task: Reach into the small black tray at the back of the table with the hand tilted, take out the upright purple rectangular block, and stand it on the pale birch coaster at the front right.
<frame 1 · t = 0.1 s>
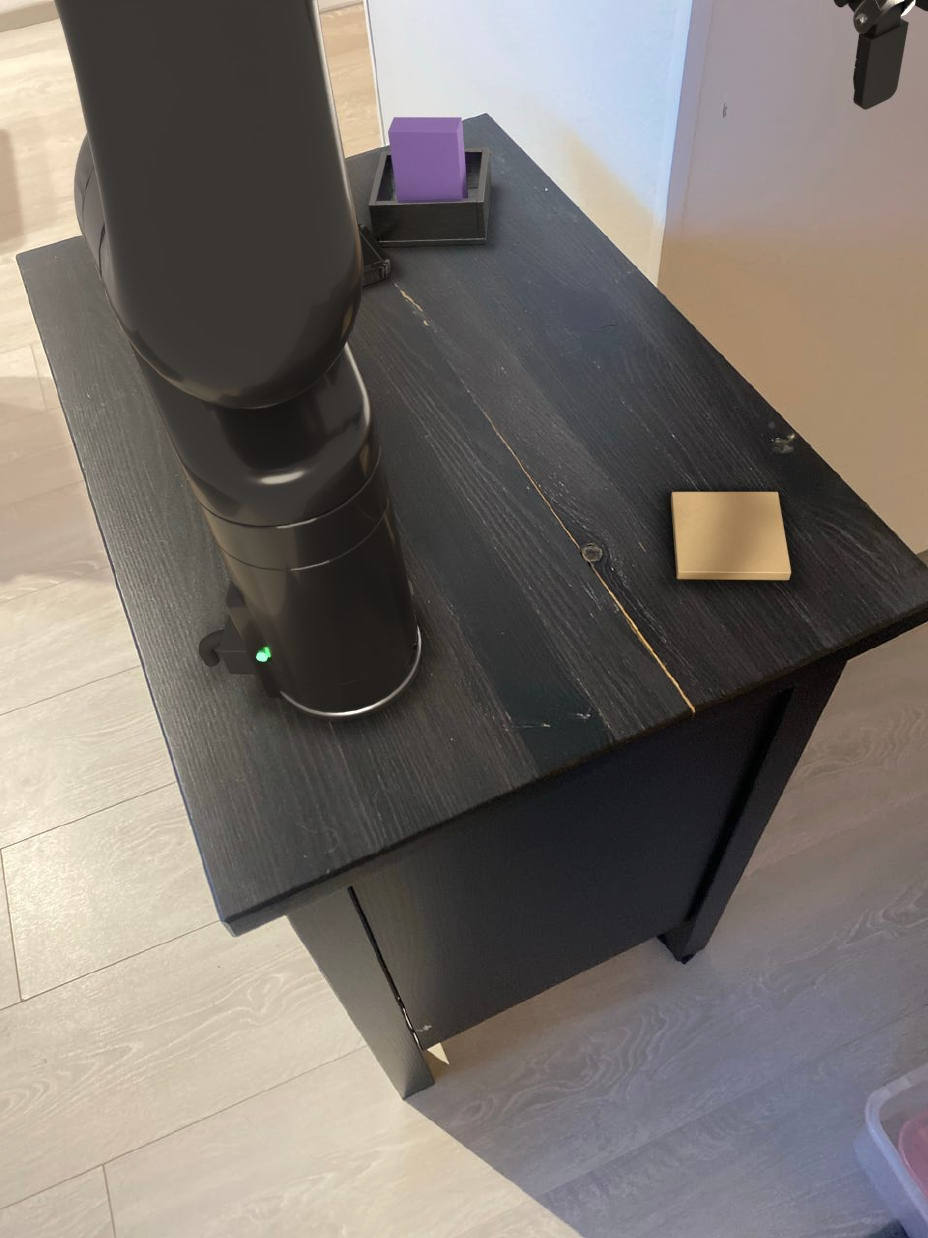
phone: (300, 279, 83), on the table
coaster: (727, 538, 62), on the table
purple rectangular block: (434, 211, 87), point 1 cm above the table, touching black tray
black tray: (434, 217, 88), on the table
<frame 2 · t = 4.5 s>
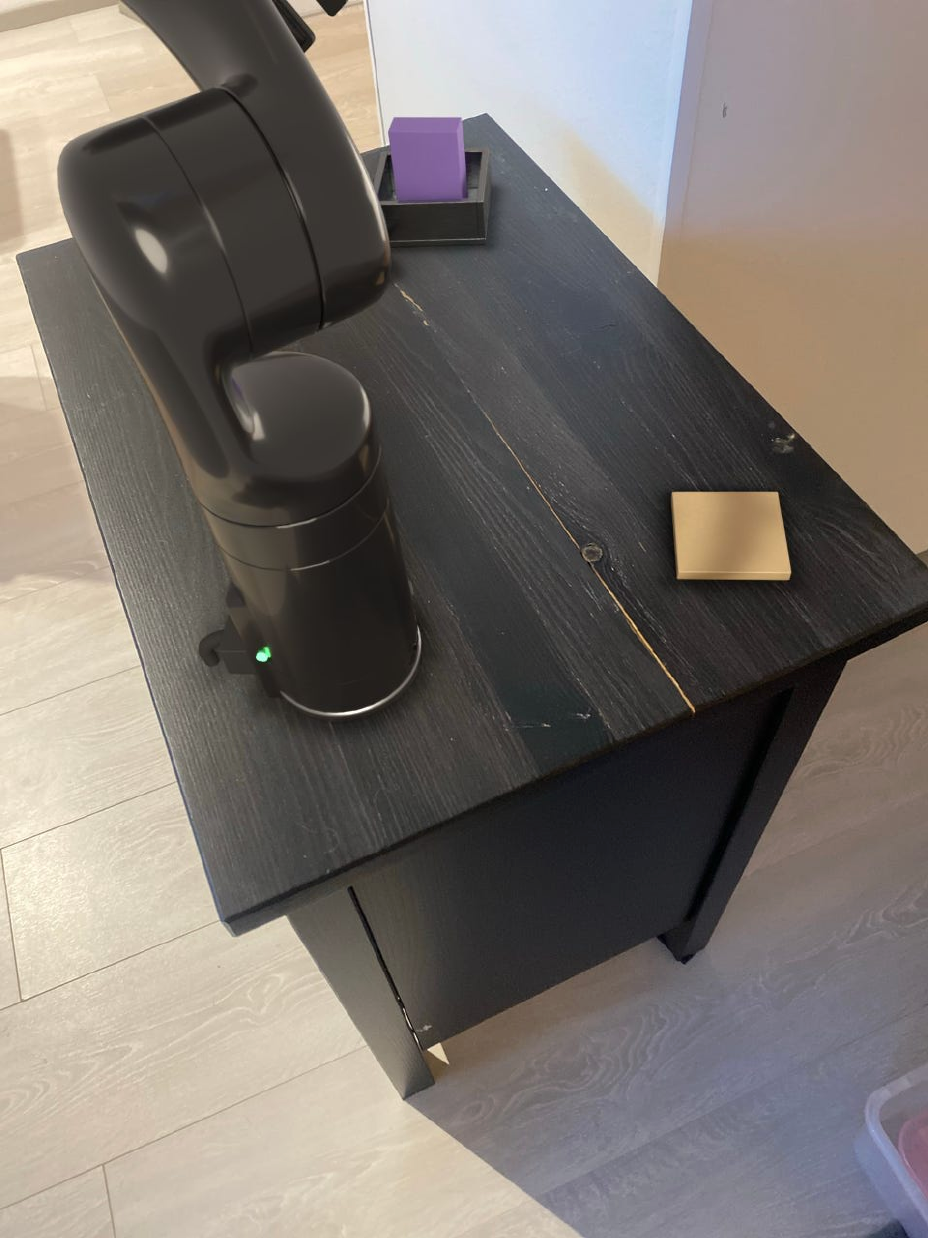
hand: (325, 28, 75), 16 cm above the table, tool tilted 40°, fingers open, 8 cm apart
nothing on the table moved.
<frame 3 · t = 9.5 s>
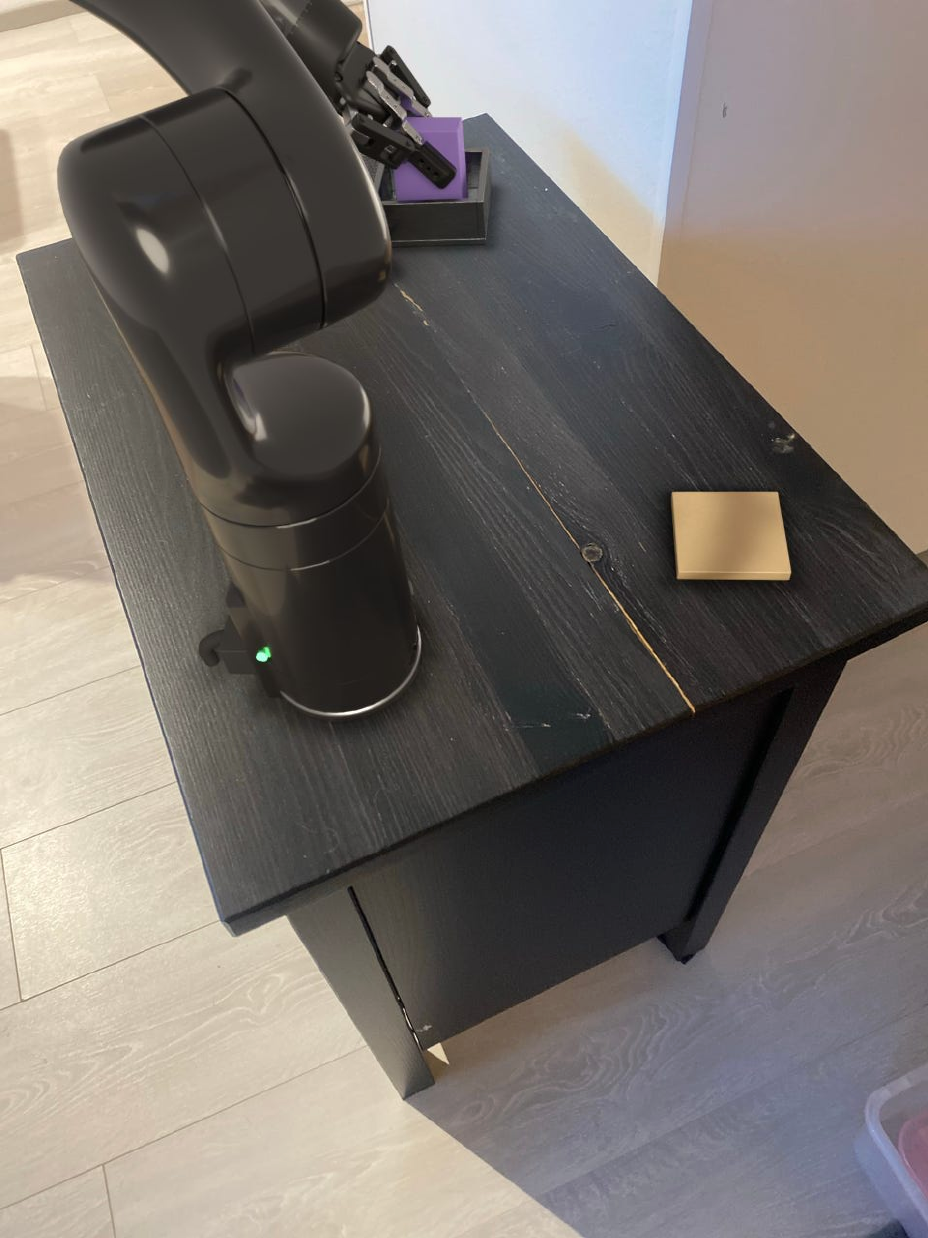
hand: (452, 170, 84), 5 cm above the table, tool tilted 45°, fingers closed on purple rectangular block, 2 cm apart
purple rectangular block: (434, 211, 87), point 1 cm above the table, touching gripper, black tray
everything else where it was.
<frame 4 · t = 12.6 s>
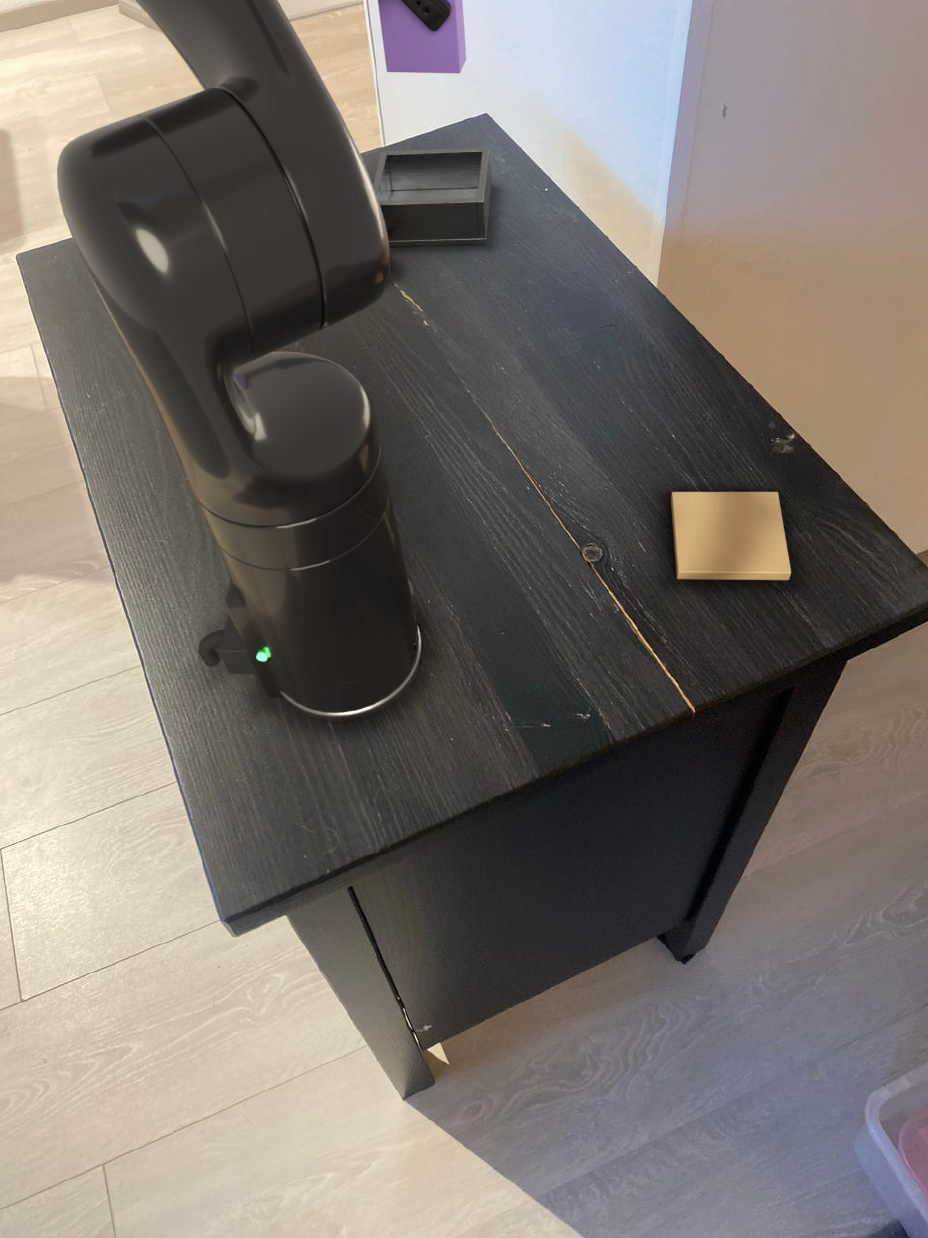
hand: (447, 11, 72), 18 cm above the table, tool tilted 45°, fingers closed on purple rectangular block, 2 cm apart
purple rectangular block: (426, 65, 76), point 14 cm above the table, touching gripper
everything else where it was.
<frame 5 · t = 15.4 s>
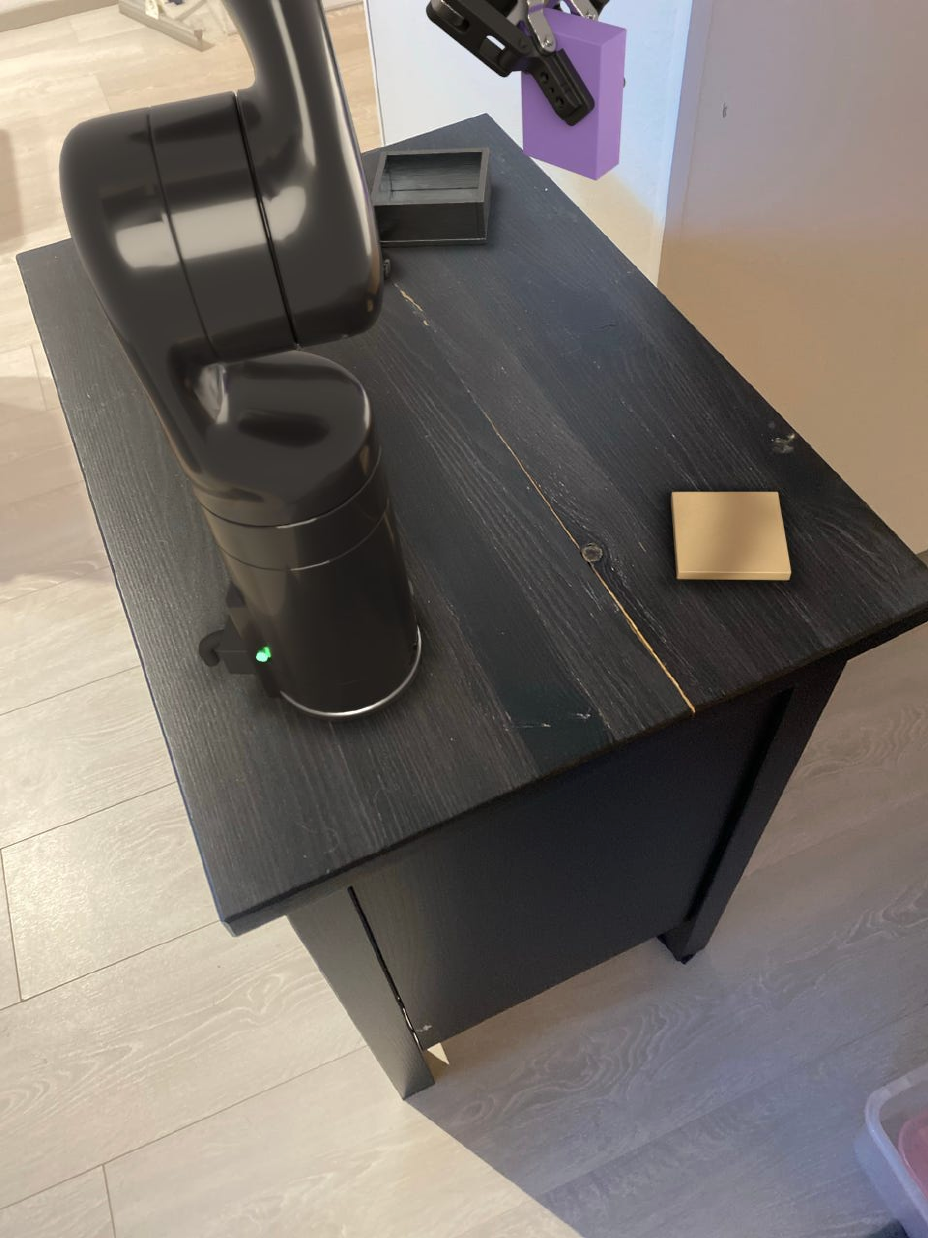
hand: (597, 105, 58), 20 cm above the table, tool tilted 45°, fingers closed on purple rectangular block, 2 cm apart
purple rectangular block: (570, 158, 62), point 16 cm above the table, touching gripper
everything else where it was.
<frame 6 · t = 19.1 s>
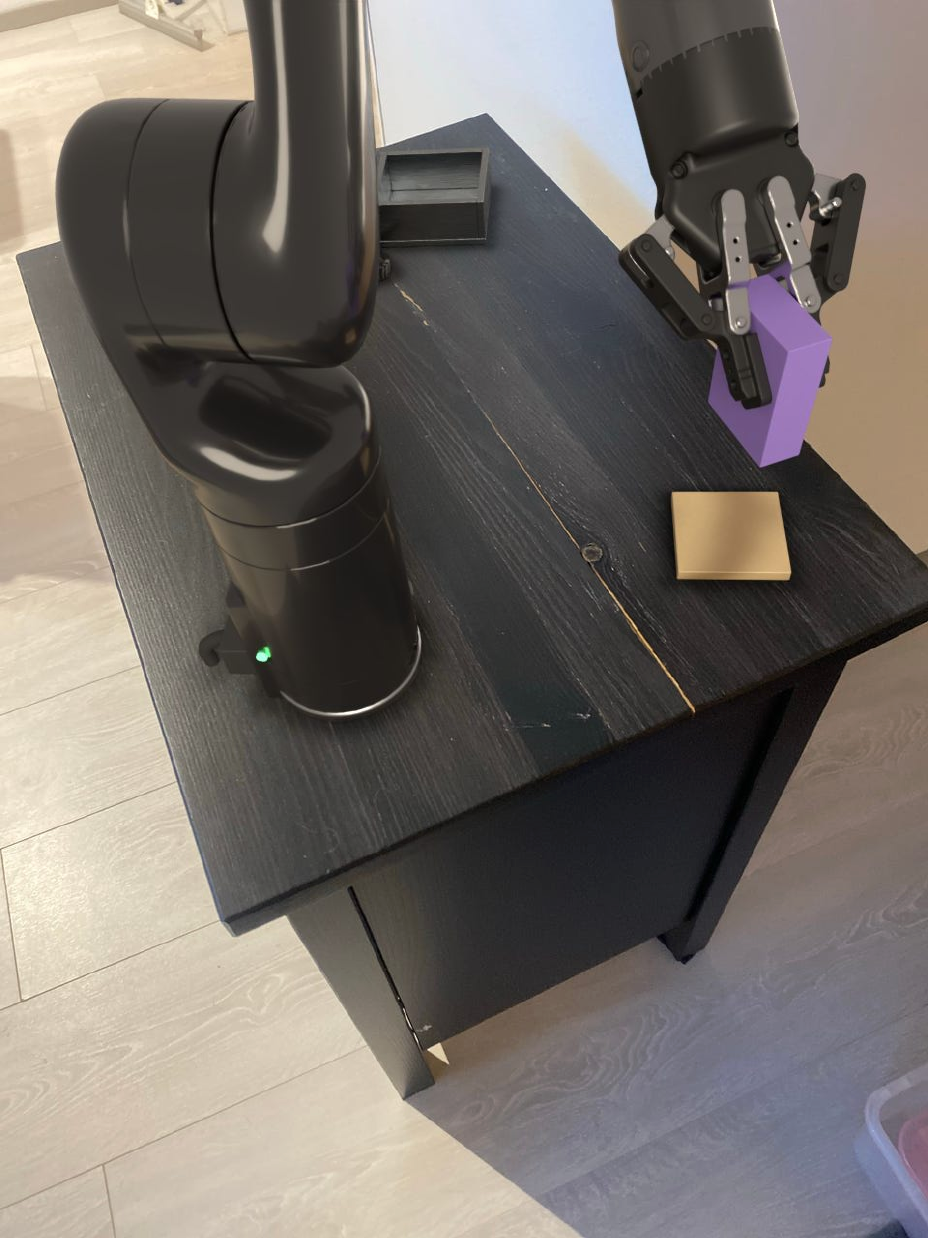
hand: (783, 396, 50), 13 cm above the table, tool tilted 45°, fingers closed on purple rectangular block, 2 cm apart
purple rectangular block: (752, 427, 55), point 10 cm above the table, touching gripper
everything else where it was.
when the fingers open (5 cm above the table, at t = 21.7 s): purple rectangular block stays where it is, resting on coaster.
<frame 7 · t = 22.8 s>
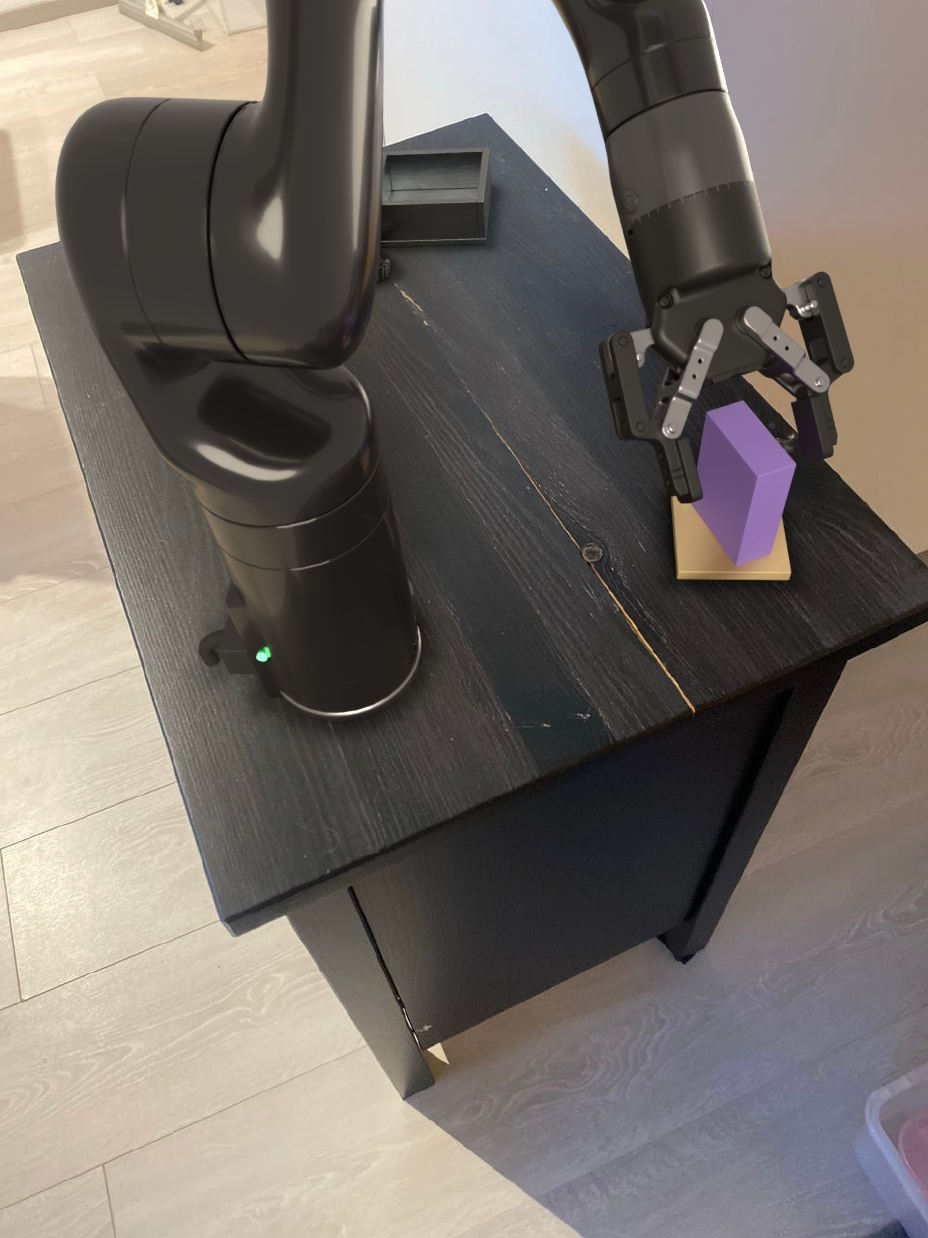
hand: (755, 480, 56), 7 cm above the table, tool tilted 45°, fingers open, 8 cm apart
purple rectangular block: (729, 528, 62), point 1 cm above the table, touching coaster
everything else where it was.
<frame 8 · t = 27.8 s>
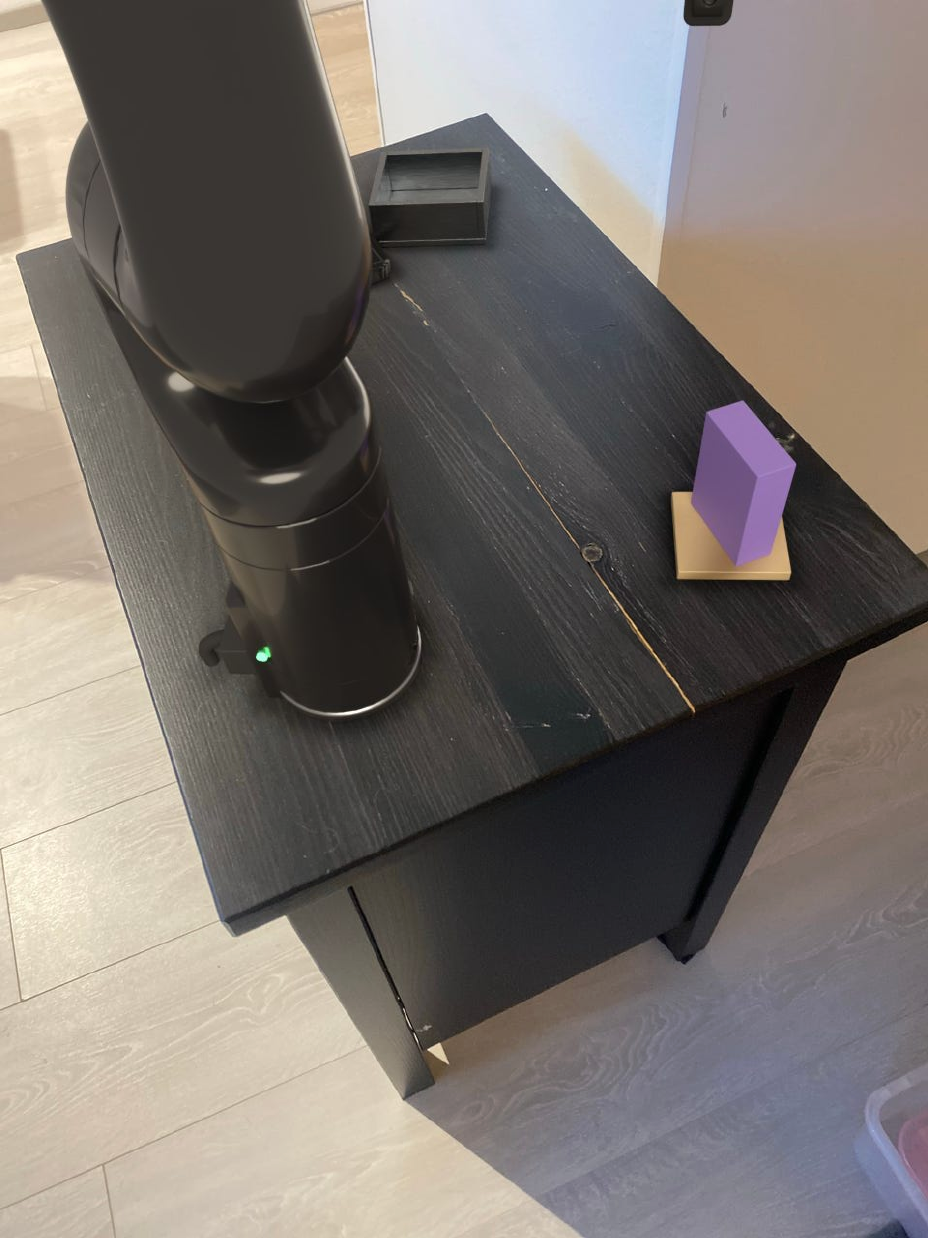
nothing on the table moved.
at the end: purple rectangular block 0.2 cm off-centre on the coaster, point 0.8 cm above the coaster's base; purple rectangular block tilted 0°; the gripper is holding nothing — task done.
